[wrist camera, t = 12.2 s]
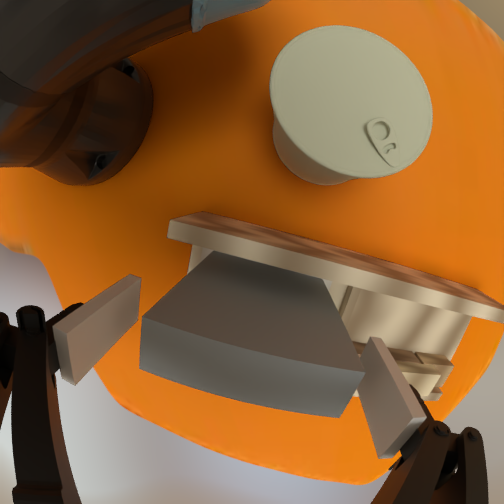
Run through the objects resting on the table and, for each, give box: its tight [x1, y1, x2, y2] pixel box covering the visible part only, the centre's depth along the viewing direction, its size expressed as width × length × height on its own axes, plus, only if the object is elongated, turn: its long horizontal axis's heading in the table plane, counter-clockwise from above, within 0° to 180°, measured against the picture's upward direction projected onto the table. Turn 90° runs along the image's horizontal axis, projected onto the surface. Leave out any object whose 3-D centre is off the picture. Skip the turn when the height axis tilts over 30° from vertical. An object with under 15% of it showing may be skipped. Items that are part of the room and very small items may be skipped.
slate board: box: [139, 250, 366, 418], centre depth 18 cm, size 10×3×14 cm, turn 76°
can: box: [269, 25, 433, 185], centre depth 17 cm, size 9×9×12 cm
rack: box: [167, 211, 504, 401], centre depth 22 cm, size 32×14×8 cm, turn 76°
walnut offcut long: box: [352, 341, 420, 364], centre depth 24 cm, size 8×3×2 cm, turn 76°
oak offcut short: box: [414, 352, 454, 387], centre depth 24 cm, size 5×3×2 cm, turn 76°
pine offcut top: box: [395, 361, 441, 396], centre depth 22 cm, size 7×3×2 cm, turn 76°
